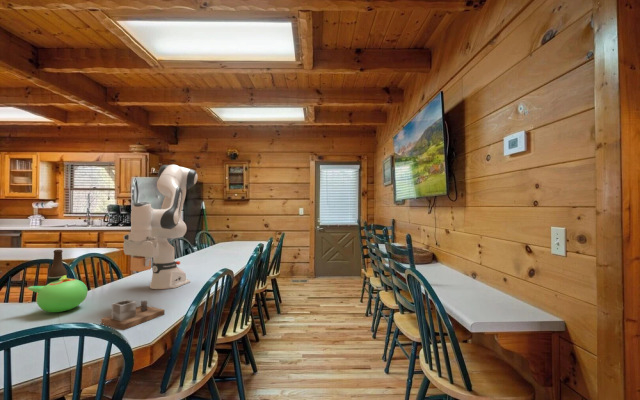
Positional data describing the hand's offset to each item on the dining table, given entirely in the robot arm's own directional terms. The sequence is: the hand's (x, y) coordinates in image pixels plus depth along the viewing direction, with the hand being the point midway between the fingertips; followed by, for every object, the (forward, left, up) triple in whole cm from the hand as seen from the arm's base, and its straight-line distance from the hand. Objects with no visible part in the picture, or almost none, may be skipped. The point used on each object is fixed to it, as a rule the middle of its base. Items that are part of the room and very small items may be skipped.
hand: (140, 265), depth 148 cm
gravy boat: (+20, -24, -19) cm, 37 cm away
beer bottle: (+10, -48, -19) cm, 53 cm away
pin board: (+13, +14, -19) cm, 27 cm away
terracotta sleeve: (0, 0, -2) cm, 2 cm away
